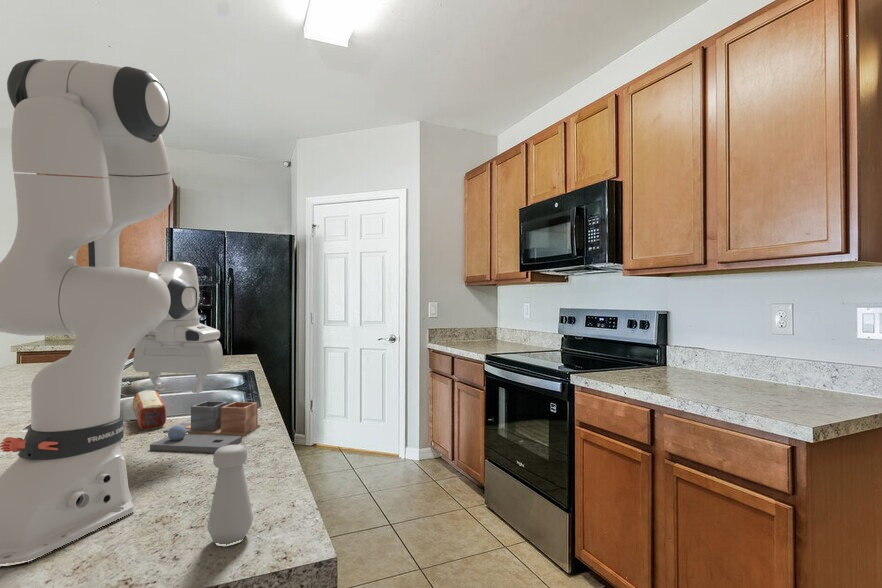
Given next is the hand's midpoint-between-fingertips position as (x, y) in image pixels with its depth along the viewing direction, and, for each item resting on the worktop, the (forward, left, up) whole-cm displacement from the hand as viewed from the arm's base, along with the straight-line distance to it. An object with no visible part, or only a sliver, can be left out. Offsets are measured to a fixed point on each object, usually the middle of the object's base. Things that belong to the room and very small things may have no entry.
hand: (178, 391), depth 105 cm
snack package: (+18, +22, -13) cm, 31 cm away
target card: (+11, +7, -12) cm, 18 cm away
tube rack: (+11, -5, -12) cm, 17 cm away
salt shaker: (-37, -36, -12) cm, 53 cm away
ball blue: (-1, 0, -9) cm, 9 cm away
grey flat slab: (-1, -5, -12) cm, 13 cm away
